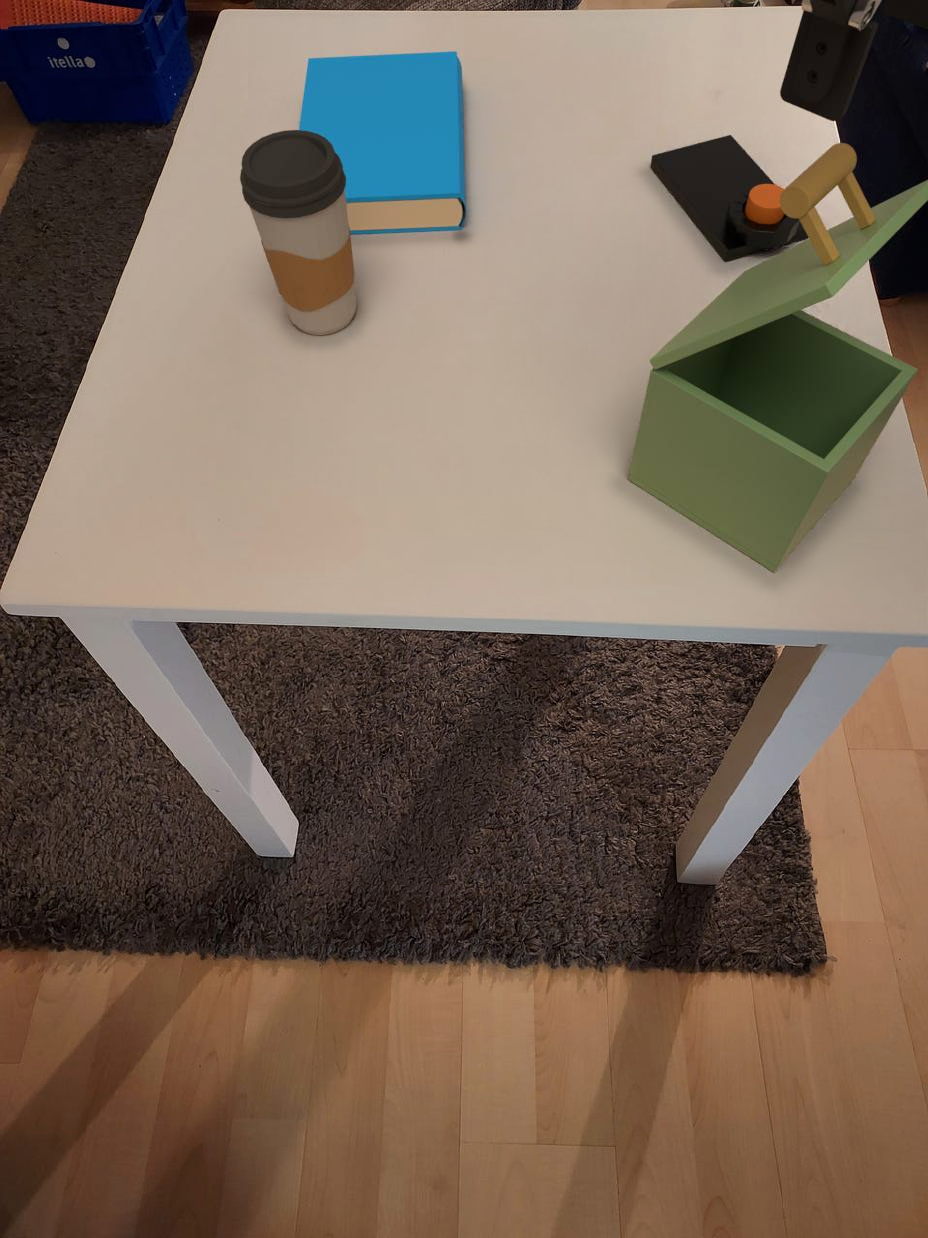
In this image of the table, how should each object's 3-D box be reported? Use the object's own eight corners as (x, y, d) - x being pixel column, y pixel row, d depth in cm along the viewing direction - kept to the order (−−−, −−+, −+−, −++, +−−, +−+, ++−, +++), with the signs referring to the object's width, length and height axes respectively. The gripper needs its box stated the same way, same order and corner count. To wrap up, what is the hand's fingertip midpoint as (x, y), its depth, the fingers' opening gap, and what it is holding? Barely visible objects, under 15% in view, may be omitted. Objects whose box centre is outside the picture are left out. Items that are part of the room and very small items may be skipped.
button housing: (815, 246, 80) (826, 217, 78) (731, 270, 79) (739, 242, 76) (727, 146, 88) (734, 117, 86) (650, 166, 87) (654, 138, 84)
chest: (853, 479, 67) (918, 368, 56) (774, 573, 63) (828, 472, 52) (709, 397, 71) (744, 281, 61) (627, 479, 67) (650, 370, 57)
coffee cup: (381, 292, 79) (358, 135, 66) (346, 353, 75) (314, 199, 62) (302, 275, 81) (264, 118, 68) (263, 333, 77) (215, 179, 64)
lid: (939, 189, 48) (896, 97, 46) (833, 296, 44) (782, 201, 42) (749, 280, 61) (710, 211, 59) (654, 370, 57) (609, 299, 55)
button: (791, 219, 78) (796, 202, 77) (756, 228, 78) (761, 211, 76) (771, 196, 80) (776, 179, 78) (737, 206, 79) (742, 188, 78)
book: (288, 201, 80) (304, 54, 92) (298, 241, 84) (312, 94, 96) (468, 192, 80) (461, 45, 92) (469, 232, 84) (462, 86, 95)
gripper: (1082, -445, 22) (840, 179, 37) (1303, -566, 28) (1017, 14, 43) (824, -482, 24) (697, 115, 39) (1076, -586, 30) (882, -32, 45)
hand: (863, 62), depth 41 cm, fingers open, 9 cm apart
